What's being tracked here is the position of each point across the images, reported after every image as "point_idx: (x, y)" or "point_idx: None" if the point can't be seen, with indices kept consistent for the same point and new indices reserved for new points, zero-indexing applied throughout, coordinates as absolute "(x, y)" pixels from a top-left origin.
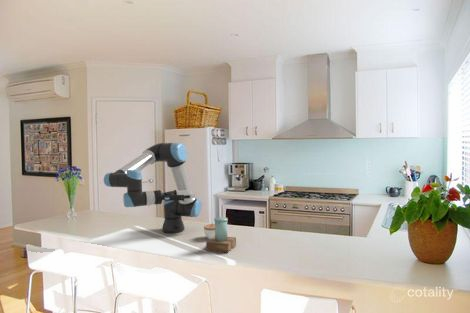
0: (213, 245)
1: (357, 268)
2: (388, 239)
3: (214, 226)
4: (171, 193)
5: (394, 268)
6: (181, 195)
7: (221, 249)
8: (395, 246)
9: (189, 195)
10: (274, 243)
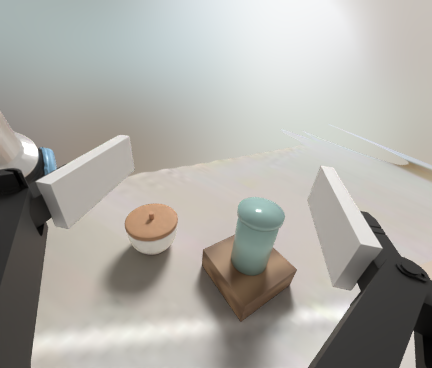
0: (262, 297)
1: (419, 200)
2: (317, 141)
3: (161, 218)
4: (12, 284)
5: (418, 182)
6: (425, 297)
7: (279, 289)
8: (341, 149)
9: (369, 216)
10: (273, 196)
